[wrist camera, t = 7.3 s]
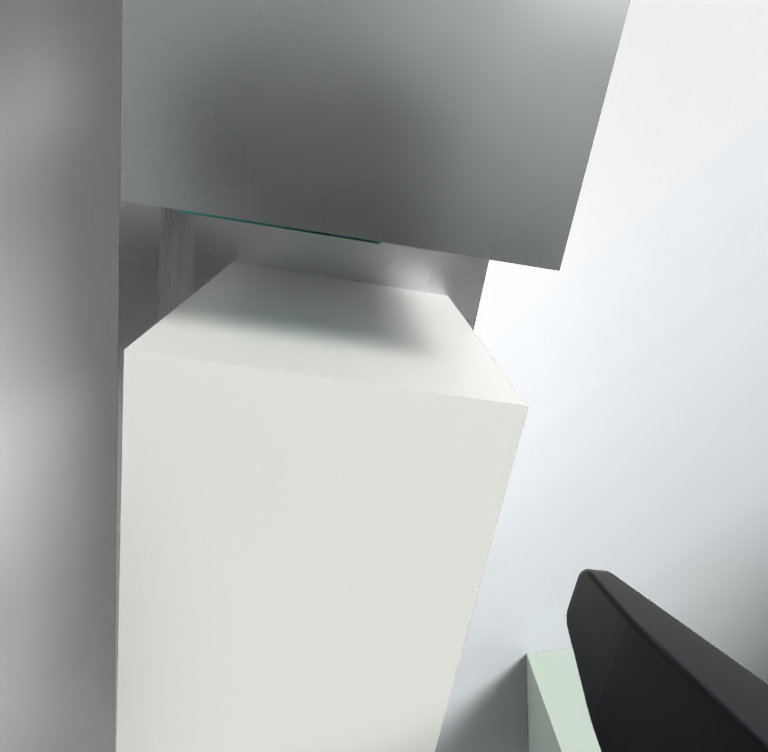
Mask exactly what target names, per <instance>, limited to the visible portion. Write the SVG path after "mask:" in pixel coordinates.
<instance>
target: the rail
mask: <svg viewBox="0 0 768 752" xmlns="http://www.w3.org/2000/svg"><path fill="white" fill-rule="evenodd" d="M629 3H630V0H122V68H121V157H120V246H119V335H118V424H117V513H116V602H115V691H114V752H116V727H117V677H118V627H119V577H120V527H121V478H122V428H123V378H124V349H125V348H127V347H128V346H129V345H130V344H132V343H133V342H134V341H135V340H137V339H138V338H139V337H140V336H142V335H143V334H144V333H145V332H147V331H148V330H149V329H150V328H152V327H153V326H154V325H155V324H157V323H158V322H159V321H160V320H162V319H163V318H164V317H165V316H166V315H168V314H169V313H170V312H171V311H173V310H174V309H175V308H176V307H178V306H179V305H180V304H181V303H183V302H184V301H185V300H186V299H188V298H189V297H190V296H191V295H193V294H194V293H195V292H196V291H198V290H199V289H200V288H201V287H203V286H204V285H205V284H206V283H208V282H209V281H210V280H211V279H213V278H214V277H215V276H216V275H218V274H219V273H220V272H221V271H223V270H224V269H225V268H226V267H227V266H229V265H230V264H231V263H232V262H236V263H242V264H248V265H255V266H261V267H267V268H274V269H280V270H286V271H293V272H299V273H305V274H312V275H318V276H325V277H331V278H337V279H344V280H350V281H356V282H363V283H369V284H375V285H382V286H388V287H394V288H401V289H407V290H413V291H420V292H426V293H433V294H439V295H445V296H448V297H449V298H450V299H451V301H452V302H453V304H454V305H455V306H456V308H457V309H458V310H459V312H460V313H461V314H462V316H463V317H464V319H465V320H466V321H467V323H468V324H469V325H470V327H471V328H472V329H474V325H475V320H476V316H477V311H478V307H479V302H480V298H481V293H482V289H483V284H484V280H485V275H486V270H487V266H488V261H489V259H490V260H496V261H503V262H509V263H515V264H521V265H528V266H534V267H540V268H546V269H553V270H560V266H561V262H562V258H563V255H564V251H565V247H566V243H567V239H568V235H569V232H570V228H571V224H572V220H573V216H574V213H575V209H576V205H577V201H578V197H579V194H580V190H581V186H582V182H583V178H584V174H585V171H586V167H587V163H588V159H589V155H590V152H591V148H592V144H593V140H594V136H595V133H596V129H597V125H598V121H599V117H600V114H601V110H602V106H603V102H604V98H605V94H606V91H607V87H608V83H609V79H610V75H611V72H612V68H613V64H614V60H615V56H616V53H617V49H618V45H619V41H620V37H621V33H622V30H623V26H624V22H625V18H626V14H627V11H628V7H629Z"/></svg>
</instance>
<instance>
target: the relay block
mask: <svg viewBox="0 0 768 752" xmlns="http://www.w3.org/2000/svg"><path fill="white" fill-rule="evenodd" d="M527 695H528V740H529V751H530V752H601V749H600V746H599V744H598V741H597V738H596V735H595V732H594V729H593V726H592V723H591V719H590V716H589V712H588V708H587V705H586V701H585V697H584V692H583V688H582V684H581V680H580V676H579V672H578V668H577V664H576V660H575V656H574V652H573V648H568V649H560V650H551V651H543V652H535V653H527Z"/></svg>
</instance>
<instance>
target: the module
mask: <svg viewBox="0 0 768 752" xmlns="http://www.w3.org/2000/svg"><path fill="white" fill-rule="evenodd" d="M527 409H528V405H527V403H526V402H525V401H524V399H523V398H522V396H521V395H520V394H519V392H518V391H517V390H516V388H515V387H514V386H513V384H512V383H511V381H510V380H509V379H508V377H507V376H506V375H505V373H504V372H503V370H502V369H501V368H500V366H499V365H498V364H497V362H496V361H495V360H494V358H493V357H492V355H491V354H490V353H489V351H488V350H487V349H486V347H485V346H484V345H483V343H482V342H481V340H480V339H479V338H478V336H477V335H476V334H475V332H474V331H473V329H472V328H471V327H470V325H469V324H468V323H467V321H466V320H465V319H464V317H463V316H462V314H461V313H460V312H459V310H458V309H457V308H456V306H455V305H454V304H453V302H452V301H451V299H450V298H449V297H448V296H445V295H439V294H433V293H426V292H420V291H413V290H407V289H401V288H394V287H388V286H382V285H375V284H369V283H363V282H356V281H350V280H344V279H337V278H331V277H325V276H318V275H312V274H305V273H299V272H293V271H286V270H280V269H274V268H267V267H261V266H255V265H248V264H242V263H236V262H232V263H231V264H230V265H229V266H227V267H226V268H225V269H224V270H223V271H221V272H220V273H219V274H218V275H216V276H215V277H214V278H213V279H211V280H210V281H209V282H208V283H206V284H205V285H204V286H203V287H201V288H200V289H199V290H198V291H196V292H195V293H194V294H193V295H191V296H190V297H189V298H188V299H186V300H185V301H184V302H183V303H181V304H180V305H179V306H178V307H176V308H175V309H174V310H173V311H171V312H170V313H169V314H168V315H166V316H165V317H164V318H163V319H162V320H160V321H159V322H158V323H157V324H155V325H154V326H153V327H152V328H150V329H149V330H148V331H147V332H145V333H144V334H143V335H142V336H140V337H139V338H138V339H137V340H135V341H134V342H133V343H132V344H130V345H129V346H128V347H127V348H125V349H124V378H123V428H122V478H121V527H120V577H119V627H118V677H117V727H116V752H435V749H436V746H437V742H438V738H439V735H440V731H441V727H442V723H443V720H444V716H445V712H446V709H447V705H448V701H449V698H450V694H451V690H452V687H453V683H454V679H455V675H456V672H457V668H458V664H459V661H460V657H461V653H462V650H463V646H464V642H465V638H466V635H467V631H468V627H469V624H470V620H471V616H472V613H473V609H474V605H475V602H476V598H477V594H478V590H479V587H480V583H481V579H482V576H483V572H484V568H485V565H486V561H487V557H488V554H489V550H490V546H491V542H492V539H493V535H494V531H495V528H496V524H497V520H498V517H499V513H500V509H501V505H502V502H503V498H504V494H505V491H506V487H507V483H508V480H509V476H510V472H511V469H512V465H513V461H514V457H515V454H516V450H517V446H518V443H519V439H520V435H521V432H522V428H523V424H524V420H525V417H526V413H527Z"/></svg>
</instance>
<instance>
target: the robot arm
mask: <svg viewBox="0 0 768 752" xmlns="http://www.w3.org/2000/svg"><path fill="white" fill-rule="evenodd" d="M567 627H568V631H569V635H570V639H571V643H572V647H573V652H574V656H575V660H576V664H577V668H578V672H579V676H580V680H581V684H582V688H583V692H584V697H585V701H586V705H587V708H588V712H589V716H590V719H591V723H592V726H593V729H594V732H595V735H596V738H597V741H598V744H599V746H600V749H601V752H768V684H767V683H765V682H764V681H762V680H761V679H760V678H758V677H757V676H755V675H754V674H753V673H751V672H750V671H748V670H747V669H746V668H744V667H743V666H741V665H740V664H739V663H737V662H736V661H734V660H733V659H731V658H730V657H729V656H727V655H726V654H724V653H723V652H722V651H720V650H719V649H717V648H716V647H715V646H713V645H712V644H710V643H709V642H708V641H706V640H705V639H703V638H702V637H701V636H699V635H698V634H696V633H695V632H694V631H692V630H691V629H689V628H688V627H687V626H685V625H684V624H682V623H681V622H680V621H678V620H677V619H675V618H674V617H672V616H671V615H670V614H668V613H667V612H665V611H664V610H663V609H661V608H660V607H658V606H657V605H656V604H654V603H653V602H651V601H650V600H649V599H647V598H646V597H644V596H643V595H642V594H640V593H639V592H637V591H636V590H635V589H633V588H632V587H630V586H629V585H628V584H626V583H625V582H623V581H622V580H620V579H619V578H618V577H616V576H615V575H613V574H612V573H610V572H608V571H601V570H592V569H585V570H583V571H582V572H581V573H580V575H579V577H578V579H577V582H576V585H575V588H574V592H573V595H572V598H571V601H570V604H569V607H568V610H567Z"/></svg>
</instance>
